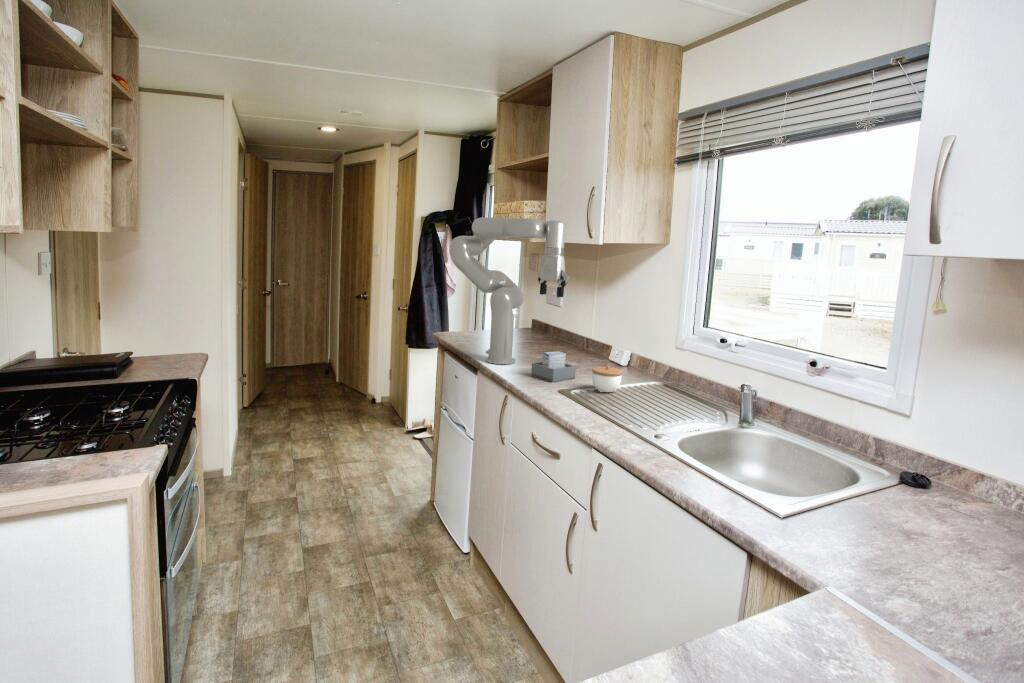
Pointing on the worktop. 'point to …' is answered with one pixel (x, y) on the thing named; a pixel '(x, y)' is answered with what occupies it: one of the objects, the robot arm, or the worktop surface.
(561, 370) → the bin
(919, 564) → the worktop surface
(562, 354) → the medicine box
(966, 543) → the worktop surface
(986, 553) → the worktop surface
